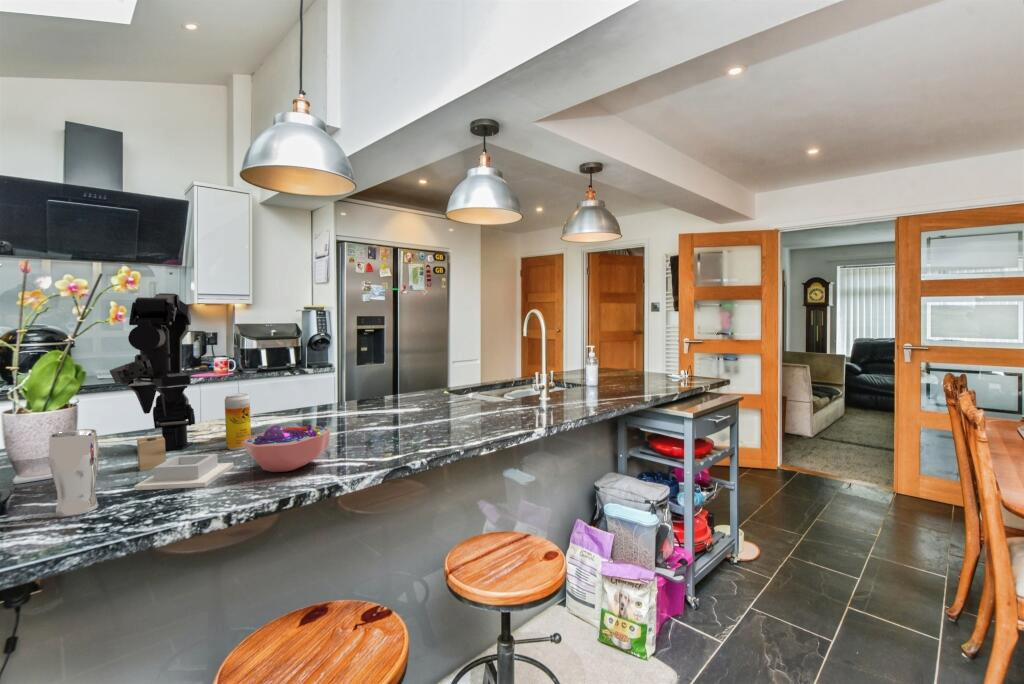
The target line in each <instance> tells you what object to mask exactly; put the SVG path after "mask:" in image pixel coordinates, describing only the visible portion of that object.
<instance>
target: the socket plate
mask: <svg viewBox="0 0 1024 684" xmlns="http://www.w3.org/2000/svg"><path fill="white" fill-rule="evenodd" d="M218 461H219V460H218V454H217V453H209V454H188V455H187V454H183V455H181V454H180V455H175V456H173V457H171V458H169V459H166V461H165V462H163V463H162V464H160V465H158V466H156V467H154V469H153V475H151V476H150V477H147V478H146V479H145V480H142V481H141V482H138V483H137V484H135V485H134V486H133V488H134V489H133V490H134V491H147V490H148V491H149V490H166V489H167V490H168V489H170V490H172V489H173V490H174V489H190V488H206V487H207V486H209V485H210V484H212V483H213V482H215V481H216V480H217V479H219V478H220V477H222V476H223V475H224V474H226V473H227V472H229V471H230V470H231V469H233V468H234V465H235V464H234V462H218Z"/></svg>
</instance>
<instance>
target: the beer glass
mask: <svg viewBox="0 0 1024 684" xmlns="http://www.w3.org/2000/svg"><path fill="white" fill-rule="evenodd" d="M97 434H98V433H97V429H94V428H93V429H92V428H87V429H86V428H82V429H80V428H79V429H73V430H72V429H71V430H65V431H60V432H56V433H52V434H50V435H49V436H48V437H49V442H48V443H49V444H48V445H49V446H48V460H49V462H48V463H49V468H50V473H51V476H52V479H53V482H54V487H55V488H56V494H57V502H56V506H55V507H56V508H55V516H56V517H60V518H68V517H70V518H71V517H75V516H81V515H85V514H87V513H90V512H92V511H95V510H97V509H98V508H99V505H100V504H99V502H98V498H97V495H96V479H97V473H98V467H99V462H100V461H99V460H100V459H99V458H100V448H99V442H98V441H99V440H98V435H97Z"/></svg>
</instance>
